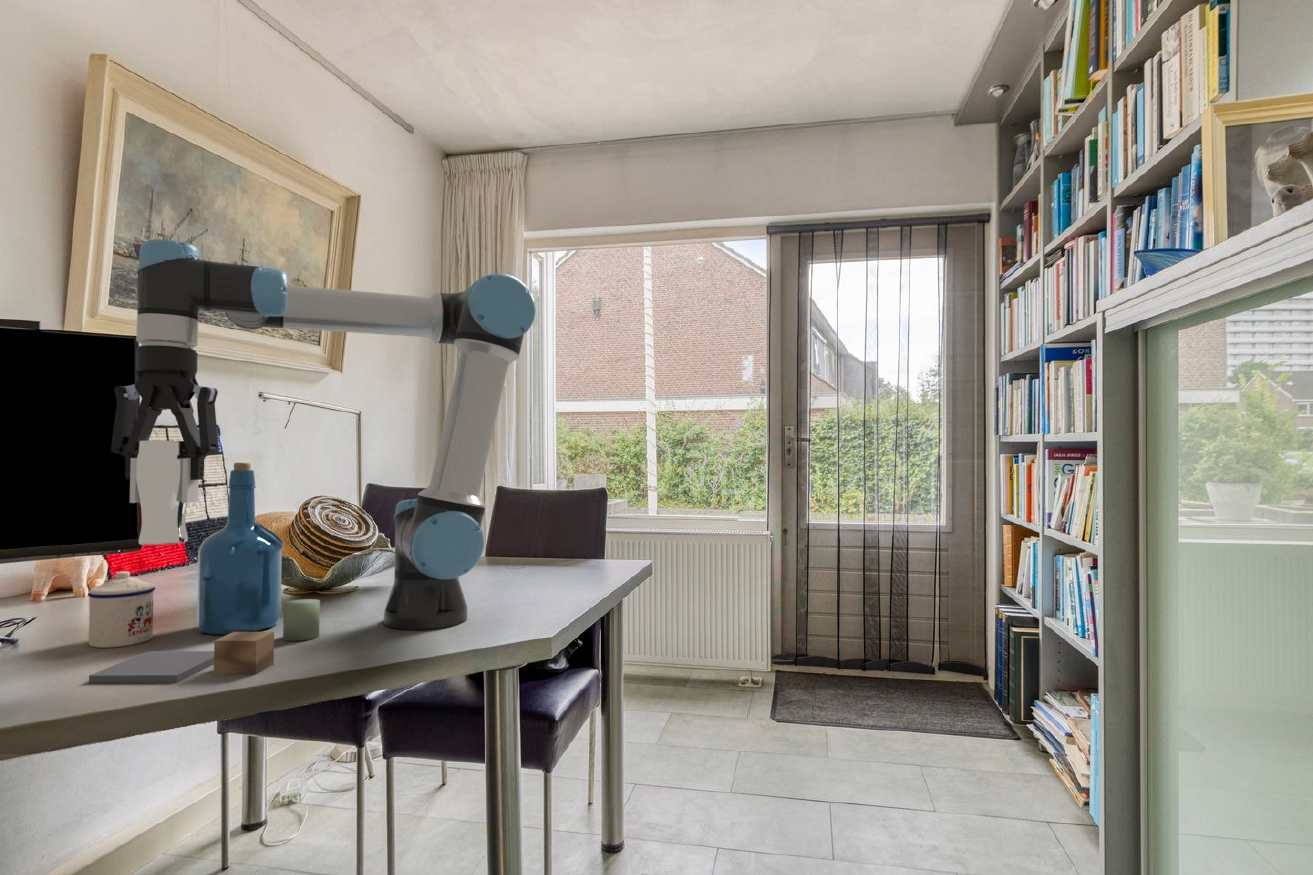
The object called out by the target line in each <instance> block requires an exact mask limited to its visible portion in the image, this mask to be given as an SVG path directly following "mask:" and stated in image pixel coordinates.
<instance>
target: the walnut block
mask: <svg viewBox="0 0 1313 875" xmlns="http://www.w3.org/2000/svg"><path fill="white" fill-rule="evenodd" d="M213 643H214V646H213V647H214V648H213V651H214V664H213V675H214V676H219V674H220V675H222V676H223V675H224V676H226V675H227V676H228V675H229V676H231V675H232V676H238V675H239V676H240V675H241V676H245V675H247V676H250V675H251V676H255V675H258V674H260V673H261V672H264V671H265V670H266V669H268V668H270V667H272V666H273V665H274V662H275V661H274V660H275V659H274V658H275V657H274V656H275V654H274V652H275V651H274V650H275V648H274V647H275V631H256V632H233V633H230V634H228V635H223V636H222V637H220V638H218V639H215V640H213Z"/></svg>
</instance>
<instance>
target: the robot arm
mask: <svg viewBox="0 0 1313 875" xmlns="http://www.w3.org/2000/svg"><path fill="white" fill-rule="evenodd" d="M200 255H201V254H200V250H199V248H197V247H196V246H194V245H192V244H189V243H188V242H187V243H186V242H180V241H177V240H173V239H164V238H163V239H162V238H160V239H159V238H157V239H156V238H155V239H147V240H145V241H144V242H142V243H141V245H140V247H139V258H138V268H137V270H136V273H137V315H136V339H135V341H136V342H137V343H139V344H141V345H139V346H137V348H135V349H136V351H135V352H136V353H135V356H136V357H135V368H136V371H137V378H136V380H135V382H134V384H130V385H125V386H124V385H123V386H122V385H117V386H115V387H114V391H113V392H114V395H115V400H116V407H115V408H116V409H115V416H114V423H113V431H112V439H111V446H110V451H111V453H114V454H118V455H121V456H123V457H124V458H125V471H124V473H125V479H126V480H129V482H130V483H129V503H130V504H135V503H140V500H139V495H138V489H137V483H136V457H137V448H138V441H150V436H151V435H152V433H153V430H154V428H155V425H156V422H157V420H158V417H159V416H160V415H161V414H162V412H163V410H164V411H167V410H170V412H171V414H172V415H173V416H174V417H175V420H176V423H177V427H178V429H179V432H180V434H181V437H182V441H184V444H185V447H186V450H187V452H188V455H185V456H186V457H187V458H184V459H183V464H182V503H187V504H189V503H199V486H200V485H199V480H200V481H201V480H203V479H204V477H205V459H206V457H208V456H211V455H213V454H214V455H215V454H218V452H219V451H220V450H219V449H220V448H219V439H218V425H217V413H216V400H217V397H218V392H219V390H218V389H217V388H215V387H208V386H201V385H199V383H198V381H197V379H196V376H197V375H196V374H197V373H198V355H199V354H198V352H197V350H195V349H193V348H196V347H197V346H198V338H199V336H198V333H199V331H198V330H199V312H200V311H205V312H216V313H217V312H218V313H219V312H220V313H224V314H225V317H226V318H227V319H228V320H230V321H229V322H232V323H233V324H234V325H235V326H237V327H238V328H241V329H245V330H252V331H253V330H258V329H262V328H268V329H269V328H271V329H296V330H309V331H325V332H341V333H344V332H345V333H354V334H355V333H356V334H357V333H359V334H370V335H371V334H373V335H374V334H375V335H387V336H388V335H389V336H390V335H391V336H401V337H404V336H405V337H420V338H421V337H422V338H430V339H431V341H433V343H434V344H446V345H447V344H448V345H455V347H456V349H457V350H458V352H459V358H458V362H457V367H456V371H455V376H454V379H453V382H452V383H453V384H452V387H451V388H452V389H451V392H450V397H449V400H448V405H447V410H446V414H445V417H444V422H443V427H442V432H441V435H440V440H439V443H438V448H437V453H436V457H435V461H434V466H433V470H432V473H431V479H430V482H429V485H428V486H427V487H425V488H424V489H423V490H421V491H419V492H418V494H417V498H413V499H404V500H403V499H402V500H400V501H399V502H398V503H396V505H395V512H394V513H395V514H394V515H393V520H394V576H393V577H394V579H393V585H392V587H391V590H390V593H389V596H388V600H387V602H386V605H385V608H384V611H383V624H384V625H385V627H388V628H389V627H390V628H392V629H396V630H397V629H399V630H430V629H440V628H446V627H451V626H455V625H457V624H461V623H463V622H465V621H466V620H468V604H467V602H466V599H465V596H464V593H463V589H462V586H461V582H460V579H459V578H460V577H462V576H464V575H466V574H467V573H469V572H470V571H472V570H473V569H474V567H476V565H477V563H479V560H480V559H481V557H482V555H483V551H484V548H485V538H484V537H485V536H484V532H483V529H482V525H483V520H484V519H483V518H484V515H485V510H486V504H485V503H484V501H483V500H482V498H481V496H480V493H481V489H482V488H481V487H482V484H483V481H484V476H485V475H484V474H485V471H486V466H487V461H488V457H489V453H490V452H489V451H490V448H491V444H492V438H493V435H494V430H495V425H496V420H497V416H498V412H499V408H500V404H501V400H502V394H503V391H504V385H505V381H506V377H507V372H508V367H509V365H511V364H512V363H513V362H515V361H517V360H518V359H519V356H520V353H521V350H522V344H523V340H524V337H525V336H524V335H525V334H526V333H527V332H528V331H529V330H530V328H531V327H532V325H533V323H534V320H535V317H536V312H537V311H536V310H537V309H536V302H535V298H534V296H533V294H532V292H531V291H530V289H529V288H528V287H527V285H526V284H525V283H524V282H522V280H520V279H519V278H517V277H516V276H513V275H510V274H508V273H507V274H506V273H501V272H499V273H498V272H497V273H491V274H487V275H484V276H481V277H479V278H478V279H477V280H475V281H474V282H473V284H472V285H471V286H470V287H469V288H467V289H466V290H464V291H460V292H459V291H458V292H451V293H449V292H447V293H444V292H435V293H434V294H433V295H432V296H430V297H428V296H419V295H406V294H397V293H396V294H395V293H385V292H383V293H382V292H369V291H360V290H349V289H347V290H346V289H339V288H338V289H337V288H323V287H314V286H313V287H312V286H301V285H300V286H299V285H291V284H290V285H288V275H287V273H286V272H285V271H284V270H281V269H276V268H270V267H266V266H264V265H259V266H256V265H247V264H246V265H245V264H236V263H229V262H228V263H227V262H217V261H210V260H209V261H208V260H207V259H202V258H201V257H202V256H200ZM139 396H140V398H141V401H140V403H139V405H137V403H138V402H137V399H138V398H139ZM193 397H194V398H195V399H196V407H197V408H196V412H197V420H198V421H197V422H198V424H197V422H196V418H195V416H194V413H195V411H194V407H193V405H192V402H191V400H192V399H193ZM137 406H138V408H137ZM136 411H138V414H137V413H136ZM136 414H137V417H136ZM197 425H198V426H197Z"/></svg>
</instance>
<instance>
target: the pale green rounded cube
mask: <svg viewBox="0 0 1313 875" xmlns="http://www.w3.org/2000/svg"><path fill="white" fill-rule="evenodd" d="M320 611H321V600H320V599H316V598H315V599H314V598H312V599H311V598H304V599H293V600H288V601H284V603H283V621H282V622H283V625H282V628H283V629H282V640H284V641H290V642H291V641H293V642H294V641H307V640H313V639H316V638H319V637H320V618H321V617H320V613H321V612H320Z"/></svg>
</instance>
